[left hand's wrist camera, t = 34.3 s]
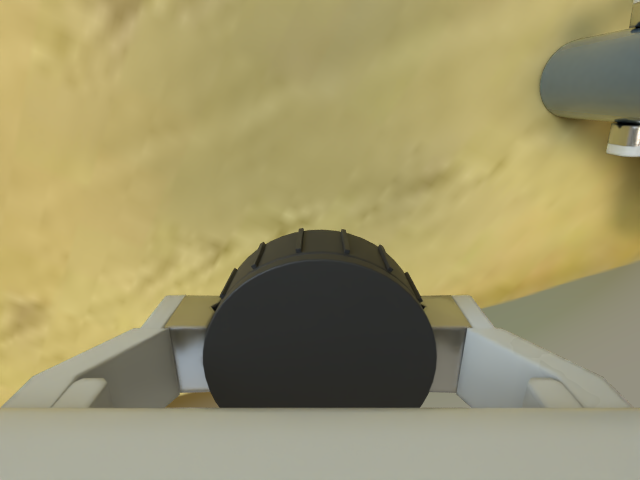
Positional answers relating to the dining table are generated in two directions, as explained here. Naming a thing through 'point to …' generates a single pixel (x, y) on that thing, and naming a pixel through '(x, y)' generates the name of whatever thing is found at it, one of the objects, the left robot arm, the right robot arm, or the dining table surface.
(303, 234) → the lid
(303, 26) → the dining table surface
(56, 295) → the dining table surface
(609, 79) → the jar
